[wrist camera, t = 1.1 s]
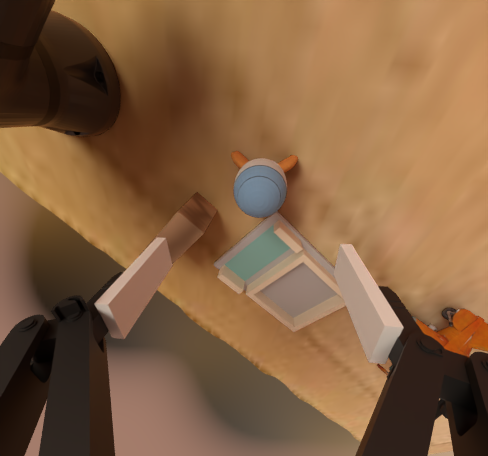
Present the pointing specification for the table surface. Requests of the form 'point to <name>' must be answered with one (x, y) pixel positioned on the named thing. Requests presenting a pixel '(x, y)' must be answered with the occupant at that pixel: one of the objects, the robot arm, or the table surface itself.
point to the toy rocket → (261, 184)
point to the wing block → (187, 225)
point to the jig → (282, 273)
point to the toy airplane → (456, 338)
